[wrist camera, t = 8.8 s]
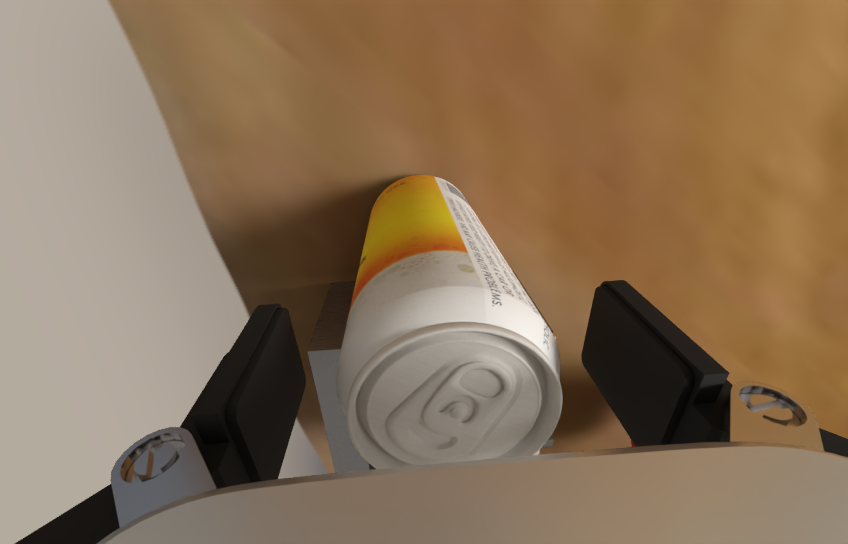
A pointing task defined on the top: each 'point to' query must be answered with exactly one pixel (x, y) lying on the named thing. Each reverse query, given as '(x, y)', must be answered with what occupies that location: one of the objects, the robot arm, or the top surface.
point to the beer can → (442, 339)
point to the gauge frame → (324, 369)
